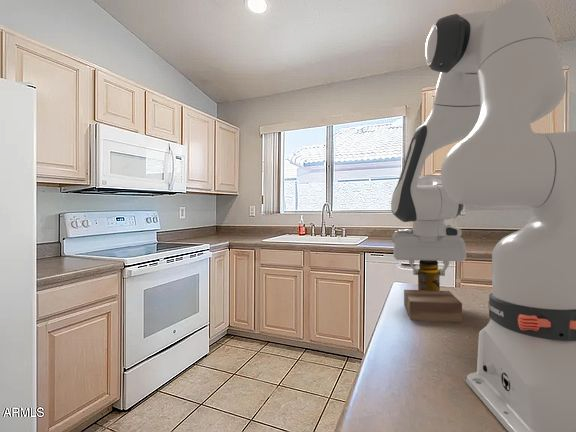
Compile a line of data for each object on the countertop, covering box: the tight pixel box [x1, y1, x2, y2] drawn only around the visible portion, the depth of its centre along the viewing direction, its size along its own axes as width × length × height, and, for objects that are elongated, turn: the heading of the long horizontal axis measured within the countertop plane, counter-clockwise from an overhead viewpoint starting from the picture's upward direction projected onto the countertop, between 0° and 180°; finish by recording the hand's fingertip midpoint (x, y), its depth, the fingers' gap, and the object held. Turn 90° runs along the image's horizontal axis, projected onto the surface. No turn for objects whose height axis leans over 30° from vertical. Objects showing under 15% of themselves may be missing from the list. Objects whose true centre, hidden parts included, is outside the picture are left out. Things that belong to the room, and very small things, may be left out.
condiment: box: [417, 260, 441, 291], centre depth 99 cm, size 7×8×12 cm
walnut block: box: [403, 289, 463, 323], centre depth 87 cm, size 12×12×5 cm
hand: (428, 275), depth 99 cm, fingers open, 6 cm apart
